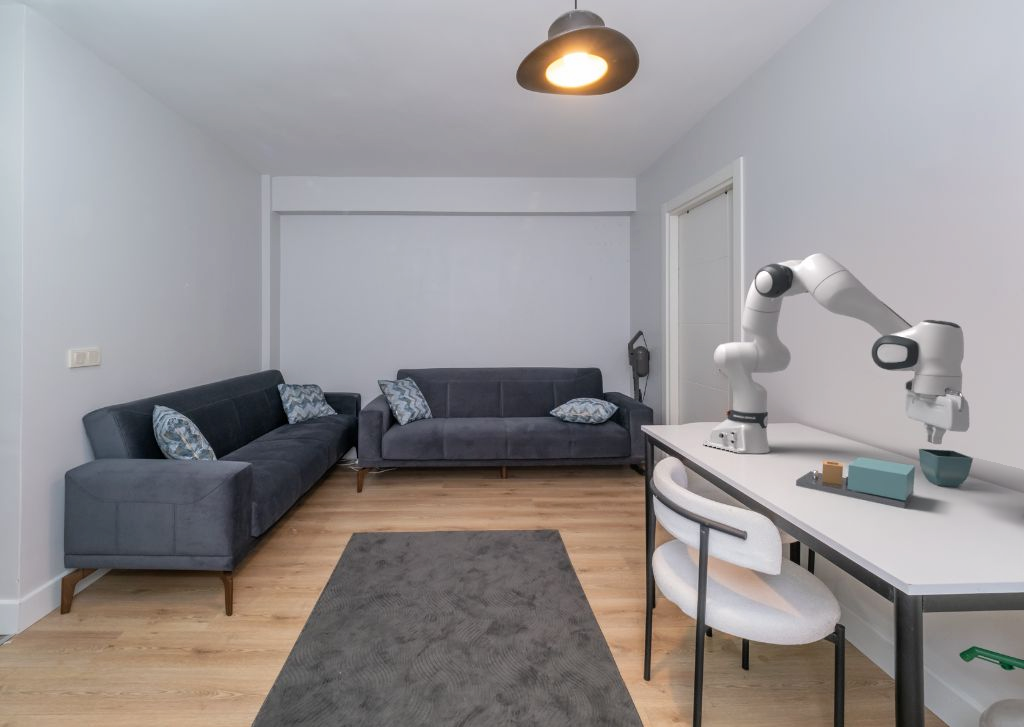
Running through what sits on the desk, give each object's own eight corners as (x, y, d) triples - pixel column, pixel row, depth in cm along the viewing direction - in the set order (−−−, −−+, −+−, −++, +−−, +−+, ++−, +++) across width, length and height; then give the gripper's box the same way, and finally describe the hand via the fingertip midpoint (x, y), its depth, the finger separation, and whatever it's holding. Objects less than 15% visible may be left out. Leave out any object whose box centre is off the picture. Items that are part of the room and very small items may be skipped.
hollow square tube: (821, 481, 137) (822, 463, 137) (822, 477, 141) (823, 460, 140) (841, 484, 134) (842, 466, 134) (841, 480, 138) (842, 462, 138)
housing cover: (847, 488, 130) (848, 464, 129) (858, 479, 138) (859, 457, 138) (905, 500, 121) (906, 474, 121) (913, 489, 129) (914, 465, 129)
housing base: (796, 485, 138) (796, 464, 138) (810, 476, 147) (811, 456, 147) (904, 508, 121) (905, 484, 120) (913, 496, 130) (914, 473, 129)
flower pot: (972, 490, 135) (974, 457, 134) (935, 488, 137) (937, 456, 136) (950, 480, 144) (952, 450, 143) (916, 478, 145) (917, 448, 145)
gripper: (980, 392, 109) (976, 453, 110) (929, 383, 129) (926, 435, 130) (946, 391, 111) (943, 452, 112) (901, 382, 131) (898, 434, 132)
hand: (933, 443), depth 121 cm, fingers closed
